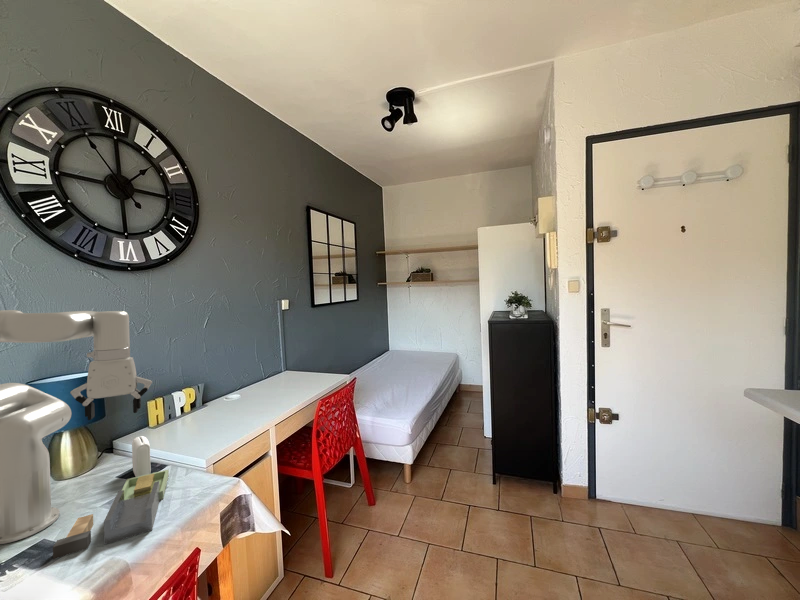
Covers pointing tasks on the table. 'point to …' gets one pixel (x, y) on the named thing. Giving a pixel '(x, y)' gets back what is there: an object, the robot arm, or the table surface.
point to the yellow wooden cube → (143, 488)
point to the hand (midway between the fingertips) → (114, 414)
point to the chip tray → (130, 487)
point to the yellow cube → (146, 478)
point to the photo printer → (141, 456)
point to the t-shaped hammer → (75, 538)
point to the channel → (131, 515)
